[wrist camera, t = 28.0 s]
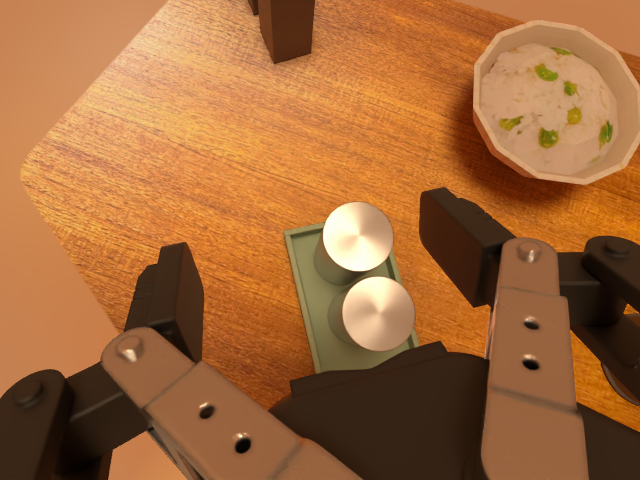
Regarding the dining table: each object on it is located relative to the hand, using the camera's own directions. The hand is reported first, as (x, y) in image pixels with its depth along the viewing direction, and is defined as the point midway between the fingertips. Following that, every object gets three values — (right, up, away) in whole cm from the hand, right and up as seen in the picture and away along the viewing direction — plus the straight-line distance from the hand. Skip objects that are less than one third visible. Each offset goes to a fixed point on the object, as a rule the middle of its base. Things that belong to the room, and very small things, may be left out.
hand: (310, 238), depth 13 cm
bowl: (+25, +13, +36) cm, 46 cm away
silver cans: (+3, -5, +30) cm, 31 cm away
